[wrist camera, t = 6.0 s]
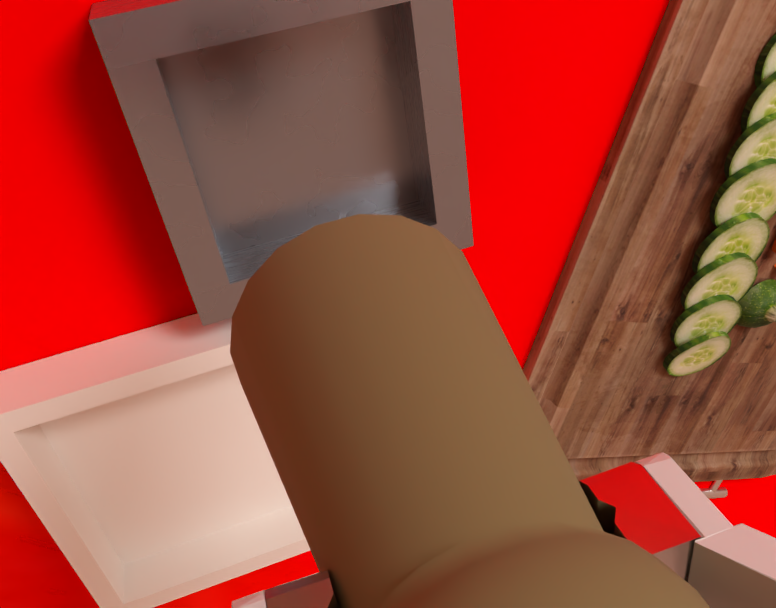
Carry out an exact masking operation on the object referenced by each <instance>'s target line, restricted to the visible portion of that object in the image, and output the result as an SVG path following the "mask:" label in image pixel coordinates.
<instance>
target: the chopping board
mask: <svg viewBox="0 0 776 608" xmlns="http://www.w3.org/2000/svg"><path fill="white" fill-rule="evenodd" d="M523 373H524V374H525V376H526V378H527V380H528V382H529V384H530V386H531V388H532V390H533V392H534V394H535V396H536V398H537V400H538V402H539V404H540V406H541V408H542V410H543V412H544V414H545V416H546V418H547V420H548V422H549V424H550V426H551V428H552V430H553V432H554V434H555V436H556V438H557V440H558V442H559V444H560V446H561V448H562V450H563V452H564V454H565V456H566V458H567V460H568V462H569V464H570V466H571V467H572V469H573V471H574V473H575V475H576V477H577V479H578V481H580V480H583V479H586V478H589V477H591V476H594V475H597V474H599V473H602V472H605V471H608V470H610V469H613V468H616V467H618V466H621V465H624V464H627V463H629V462H635V461H638V460H641V459H643V458H646V457H649V456H651V455H654V454H657V453H661V452H663V453H665V454H667V455H669V456H670V457H671V458H672V459H673V460H674V461H675V462H676V463H677V464H678V466H679V467H680V468H681V469H682V470H683V471H684V472H685V473H686V474H687V476H688V477H689V478H690V479H691V480H692V481H693V482H698V481H713V482H712V484H711V486H710V487H709V488H701V489H700V490H701V491H702V492H703V493H704V494H705V495H706V497H707V498H708V499H709V498H723V497H726V496H727V494H728V493H727V489H726V488H725V487H719V485H720V484H721V482H722V481H723V480H730V479H746V478H762V477H766V476H770V475H774V474H776V0H670V1H669V4H668V6H667V9H666V11H665V14H664V16H663V19H662V21H661V24H660V26H659V29H658V31H657V34H656V36H655V39H654V41H653V44H652V46H651V49H650V52H649V54H648V57H647V59H646V62H645V64H644V67H643V69H642V72H641V74H640V77H639V79H638V82H637V84H636V87H635V89H634V92H633V94H632V97H631V99H630V102H629V104H628V107H627V109H626V112H625V114H624V117H623V119H622V122H621V124H620V127H619V130H618V132H617V135H616V137H615V140H614V142H613V145H612V147H611V150H610V152H609V155H608V157H607V160H606V162H605V165H604V167H603V170H602V172H601V175H600V177H599V180H598V182H597V185H596V187H595V190H594V192H593V195H592V197H591V200H590V202H589V205H588V207H587V210H586V213H585V215H584V218H583V220H582V223H581V225H580V228H579V230H578V233H577V235H576V238H575V240H574V243H573V245H572V248H571V250H570V253H569V255H568V258H567V260H566V263H565V265H564V268H563V270H562V273H561V275H560V278H559V280H558V283H557V285H556V288H555V291H554V293H553V296H552V298H551V301H550V303H549V306H548V308H547V311H546V313H545V316H544V318H543V321H542V323H541V326H540V328H539V331H538V333H537V336H536V338H535V341H534V343H533V346H532V348H531V351H530V353H529V356H528V358H527V361H526V363H525V366H524V368H523Z"/></svg>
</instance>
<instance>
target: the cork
mask: <svg viewBox="0 0 776 608" xmlns="http://www.w3.org/2000/svg"><path fill="white" fill-rule="evenodd" d="M230 354H231V357H232V360H233V363H234V366H235V369H236V372H237V374H238V377H239V380H240V383H241V386H242V388H243V390H244V393H245V395H246V398H247V400H248V402H249V405H250V407H251V409H252V412H253V414H254V417H255V419H256V421H257V424H258V426H259V429H260V431H261V433H262V436H263V438H264V440H265V443H266V445H267V448H268V450H269V452H270V455H271V457H272V459H273V462H274V464H275V467H276V469H277V471H278V474H279V476H280V479H281V481H282V483H283V486H284V488H285V490H286V493H287V495H288V498H289V500H290V502H291V505H292V507H293V509H294V512H295V514H296V517H297V519H298V521H299V524H300V526H301V529H302V531H303V533H304V536H305V538H306V540H307V543H308V545H309V548H310V550H311V552H312V555H313V557H314V559H315V562H316V564H317V567H318V569H319V571H320V572H322V571H325V570H328V572H329V575H330V579H331V582H332V585H333V589H334V592H335V596H336V599H337V603H338V606H339V608H710V606H709V605H708V604H707V603H706V601H705V600H704V599H703V598H702V596H701V595H700V594H699V592H698V591H697V590H696V589H695V588H694V587H692V586H691V585H690V584H689V583H688V582H686V581H685V580H684V579H683V578H681V577H680V576H679V575H678V574H677V573H675V572H674V571H673V570H672V569H671V568H669V567H668V566H667V565H666V564H664V563H663V562H662V561H661V560H660V559H658V558H657V557H655V556H654V555H652V554H651V553H649V552H648V551H646V550H645V549H643V548H641V547H640V546H638V545H637V544H635V543H634V542H632V541H630V540H627V539H624V538H621V537H618V536H615V535H612V534H609V533H606V532H604V531H603V529H602V527H601V525H600V523H599V521H598V519H597V517H596V515H595V513H594V511H593V509H592V507H591V505H590V503H589V501H588V499H587V497H586V495H585V493H584V491H583V489H582V487H581V485H580V483H579V481H578V479H577V477H576V475H575V473H574V471H573V469H572V467H571V466H570V464H569V462H568V460H567V458H566V456H565V454H564V452H563V450H562V448H561V446H560V444H559V442H558V440H557V438H556V436H555V434H554V432H553V430H552V428H551V426H550V424H549V422H548V420H547V418H546V416H545V414H544V412H543V410H542V408H541V406H540V404H539V402H538V400H537V398H536V396H535V394H534V392H533V390H532V388H531V386H530V384H529V382H528V380H527V378H526V376H525V374H524V373H523V371H522V369H521V367H520V365H519V363H518V361H517V359H516V357H515V355H514V353H513V351H512V349H511V347H510V345H509V343H508V341H507V339H506V337H505V335H504V333H503V331H502V329H501V327H500V325H499V323H498V321H497V319H496V317H495V315H494V313H493V311H492V309H491V307H490V305H489V303H488V301H487V299H486V297H485V295H484V293H483V291H482V289H481V287H480V285H479V283H478V281H477V280H476V278H475V276H474V274H473V272H472V270H471V268H470V266H469V264H468V262H467V260H466V258H465V256H464V254H463V252H462V251H461V250H460V249H459V248H458V247H456V246H455V245H454V244H453V243H452V242H451V241H450V240H449V239H447V238H446V237H445V236H444V235H443V234H442V233H441V232H439V231H438V230H437V229H435V228H433V227H430V226H427V225H425V224H422V223H419V222H417V221H414V220H411V219H409V218H406V217H403V216H401V215H372V214H357V215H353V216H349V217H346V218H342V219H338V220H334V221H331V222H327V223H323V224H319V225H316V226H314V227H312V228H311V229H309V230H307V231H306V232H304V233H302V234H301V235H299V236H297V237H296V238H294V239H292V240H291V241H289V242H287V243H286V244H284V245H282V246H281V247H279V248H277V249H276V250H275V251H274V253H273V254H272V255H271V256H270V257H269V258H268V259H267V260H266V261H265V262H264V264H263V265H262V266H261V267H260V268H259V269H258V270H257V271H256V272H255V273H254V275H253V276H252V277H251V278H250V279H249V280H248V282H247V284H246V286H245V289H244V291H243V293H242V295H241V298H240V300H239V302H238V304H237V307H236V309H235V311H234V313H233V316H232V325H231V342H230Z"/></svg>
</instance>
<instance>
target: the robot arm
mask: <svg viewBox="0 0 776 608" xmlns="http://www.w3.org/2000/svg"><path fill="white" fill-rule="evenodd" d="M579 483H580V485H581V487H582V489H583V491H584V493H585V495H586V497H587V499H588V501H589V503H590V505H591V507H592V509H593V511H594V513H595V515H596V517H597V519H598V521H599V523H600V525H601V527H602V529H603V531H604V532H606V533H609V534H612V535H615V536H618V537H621V538H624V539H627V540H630V541H632V542H634V543H635V544H637V545H638V546H640V547H641V548H643V549H645V550H646V551H648V552H649V553H651V554H652V555H654V556H655V557H657V558H658V559H660V560H661V561H662V562H663V563H664V564H666V565H667V566H668V567H669V568H671V569H672V570H673V571H674V572H675V573H677V574H678V575H679V576H680V577H681V578H683V579H684V580H685V581H686V582H688V583H689V584H690V585H691V586H692V587H694V588H695V589H696V590H697V591H698V592H699V594H700V595H701V596H702V598H703V599H704V600H705V601H706V603H707V604H708V605H709V606H710V608H776V538H774V537H772V536H769V535H767V534H765V533H762V532H760V531H758V530H756V529H753V528H751V527H749V526H746V525H744V524H742V523H741V524H738V525H735V526H733V525H732V524H731V523H730V522H729V521H728V520H727V519H726V518H725V516H724V515H723V514H722V513H721V512H720V511H719V510H718V509H717V508H716V506H715V505H714V504H713V503H712V502H711V501H710V500H709V499H708V498H707V497H706V495H705V494H704V493H703V492H702V491H701V490H700V489H699V488H698V487H697V485H696V484H695V483H694V482H693V481H692V480H691V479H690V478H689V477H688V476H687V474H686V473H685V472H684V471H683V470H682V469H681V468H680V467H679V466H678V464H677V463H676V462H675V461H674V460H673V459H672V458H671V457H670V456H669V455H667V454H665V453H663V452H661V453H657V454H654V455H651V456H649V457H646V458H643V459H641V460H638V461H635V462H629V463H627V464H624V465H621V466H618V467H616V468H613V469H610V470H608V471H605V472H602V473H599V474H597V475H594V476H591V477H589V478H586V479H583V480H580V481H579ZM232 608H339V606H338V603H337V599H336V596H335V592H334V589H333V585H332V582H331V579H330V575H329V572H328V570H325V571H322V572H319V573H316V574H313V575H310V576H307V577H304V578H301V579H298V580H295V581H291V582H288V583H285V584H282V585H279V586H276V587H273V588H270V589H267V590H263V591H260V592H257V593H255V594H252V595H249V596H246V597H243V598H240V599H237V600H234V601H232Z"/></svg>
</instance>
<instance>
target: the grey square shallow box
mask: <svg viewBox="0 0 776 608" xmlns="http://www.w3.org/2000/svg"><path fill="white" fill-rule="evenodd" d="M89 23H90V25H91V28H92V31H93V33H94V36H95V39H96V41H97V44H98V47H99V49H100V52H101V55H102V57H103V60H104V63H105V65H106V68H107V71H108V74H109V76H110V79H111V82H112V84H113V87H114V90H115V92H116V95H117V98H118V100H119V103H120V106H121V108H122V111H123V114H124V116H125V119H126V122H127V124H128V127H129V130H130V132H131V135H132V138H133V140H134V143H135V146H136V148H137V151H138V154H139V156H140V159H141V162H142V164H143V167H144V170H145V172H146V175H147V178H148V181H149V183H150V186H151V189H152V191H153V194H154V197H155V199H156V202H157V205H158V207H159V210H160V213H161V215H162V218H163V221H164V223H165V226H166V229H167V231H168V234H169V237H170V239H171V242H172V245H173V247H174V250H175V253H176V255H177V258H178V261H179V263H180V266H181V269H182V271H183V274H184V277H185V279H186V282H187V285H188V288H189V290H190V293H191V296H192V298H193V301H194V304H195V306H196V309H197V312H198V314H199V317H200V320H201V322H202V325H203V326H206V325H209V324H212V323H216V322H219V321H222V320H226V319H229V318H232V316H233V313H234V311H235V309H236V307H237V304H238V302H239V300H240V298H241V295H242V293H243V291H244V289H245V286H246V284H247V282H248V280H249V279H250V278H251V277H252V276H253V275H254V273H255V272H256V271H257V270H258V269H259V268H260V267H261V266H262V265H263V264H264V262H265V261H266V260H267V259H268V258H269V257H270V256H271V255H272V254H273V253H274V251H275V250H276V249H277V248H279V247H281V246H282V245H284V244H286V243H287V242H289V241H291V240H292V239H294V238H296V237H297V236H299V235H301V234H302V233H304V232H306V231H307V230H309V229H311V228H312V227H314V226H316V225H319V224H323V223H327V222H331V221H334V220H338V219H342V218H346V217H349V216H353V215H357V214H372V215H401V216H403V217H406V218H409V219H411V220H414V221H417V222H419V223H422V224H425V225H427V226H430V227H433V228H435V229H437V230H438V231H439V232H441V233H442V234H443V235H444V236H445V237H446V238H447V239H449V240H450V241H451V242H452V243H453V244H454V245H455V246H456V247H458V248H459V249H464V248H467V247H470V246H474V244H473V233H472V221H471V210H470V198H469V186H468V175H467V163H466V152H465V140H464V129H463V117H462V105H461V94H460V82H459V71H458V59H457V47H456V36H455V24H454V13H453V1H452V0H107V1H102V2H97V3H93V4H92V7H91V11H90V16H89Z"/></svg>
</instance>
